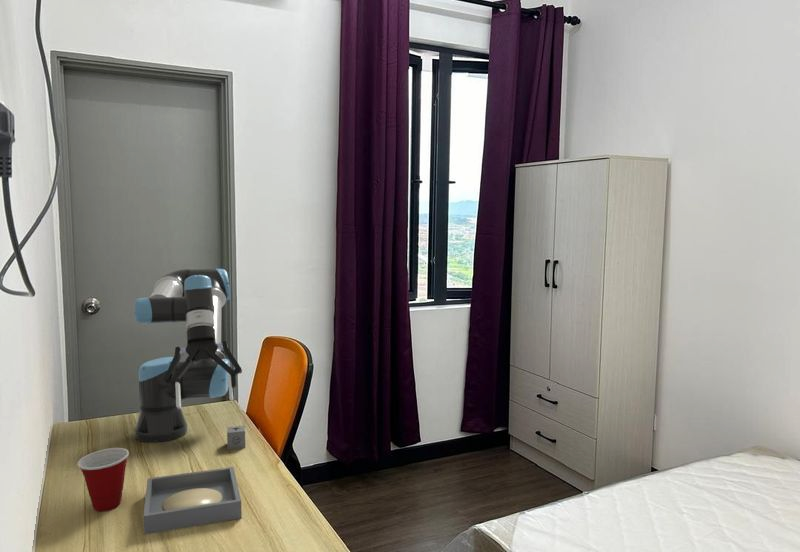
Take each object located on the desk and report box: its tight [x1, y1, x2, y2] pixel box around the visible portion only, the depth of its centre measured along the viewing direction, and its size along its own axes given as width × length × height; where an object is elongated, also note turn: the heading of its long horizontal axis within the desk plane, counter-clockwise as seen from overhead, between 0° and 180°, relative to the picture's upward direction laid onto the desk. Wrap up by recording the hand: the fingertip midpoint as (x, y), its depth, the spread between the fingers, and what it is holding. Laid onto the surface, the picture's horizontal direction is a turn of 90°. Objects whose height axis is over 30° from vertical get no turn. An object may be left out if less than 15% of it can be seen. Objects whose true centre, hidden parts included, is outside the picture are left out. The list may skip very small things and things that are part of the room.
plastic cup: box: [77, 447, 130, 512], centre depth 140 cm, size 11×11×12 cm
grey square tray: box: [142, 466, 243, 535], centre depth 141 cm, size 20×20×4 cm
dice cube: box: [226, 425, 246, 450], centre depth 179 cm, size 5×5×5 cm
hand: (205, 403), depth 163 cm, fingers open, 13 cm apart
